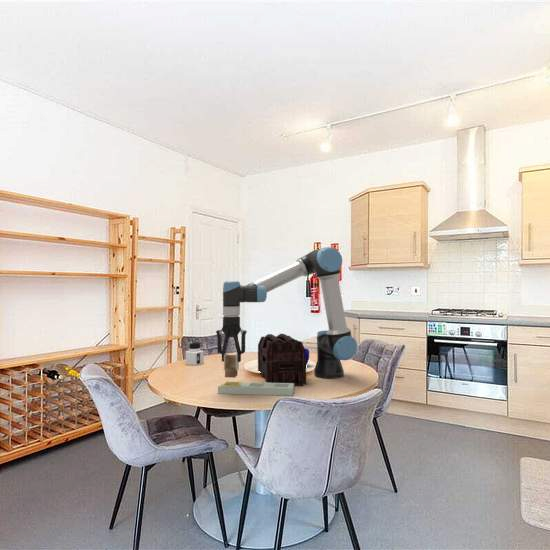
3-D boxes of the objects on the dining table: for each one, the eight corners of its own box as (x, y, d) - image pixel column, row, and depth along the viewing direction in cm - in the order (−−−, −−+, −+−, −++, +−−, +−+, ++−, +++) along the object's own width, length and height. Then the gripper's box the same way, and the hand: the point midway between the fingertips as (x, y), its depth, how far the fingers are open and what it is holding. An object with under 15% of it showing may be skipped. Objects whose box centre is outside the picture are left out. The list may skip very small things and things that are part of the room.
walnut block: (237, 375, 175) (237, 354, 176) (234, 377, 171) (235, 356, 171) (227, 375, 176) (227, 354, 176) (224, 377, 171) (224, 356, 172)
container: (203, 363, 238) (203, 341, 238) (194, 365, 231) (194, 343, 232) (194, 362, 242) (194, 341, 242) (185, 364, 235) (185, 342, 236)
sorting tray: (294, 390, 174) (294, 382, 174) (292, 395, 165) (292, 387, 165) (223, 388, 178) (223, 381, 179) (217, 393, 170) (217, 385, 170)
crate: (308, 385, 182) (308, 340, 182) (268, 388, 178) (268, 341, 179) (290, 370, 216) (290, 332, 217) (256, 372, 212) (256, 333, 213)
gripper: (252, 315, 177) (252, 368, 176) (214, 315, 179) (214, 367, 179) (249, 316, 169) (249, 371, 169) (209, 316, 172) (209, 370, 171)
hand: (231, 369), depth 174 cm, fingers closed on walnut block, 4 cm apart
